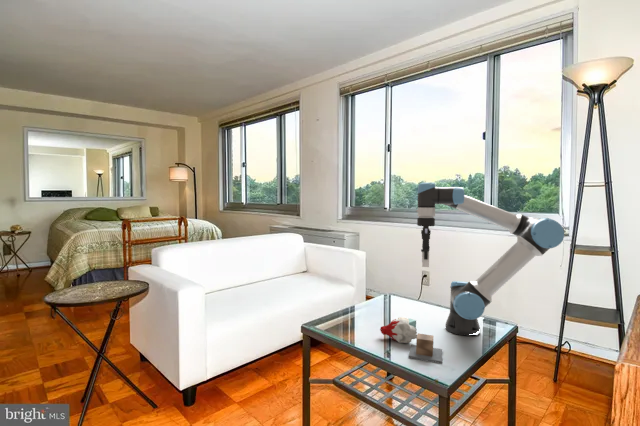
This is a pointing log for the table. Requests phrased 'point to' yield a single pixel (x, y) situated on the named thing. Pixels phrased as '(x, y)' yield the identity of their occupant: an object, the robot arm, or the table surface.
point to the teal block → (412, 322)
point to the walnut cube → (424, 345)
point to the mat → (436, 356)
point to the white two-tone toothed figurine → (400, 331)
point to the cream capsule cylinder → (404, 319)
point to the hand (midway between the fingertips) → (425, 264)
